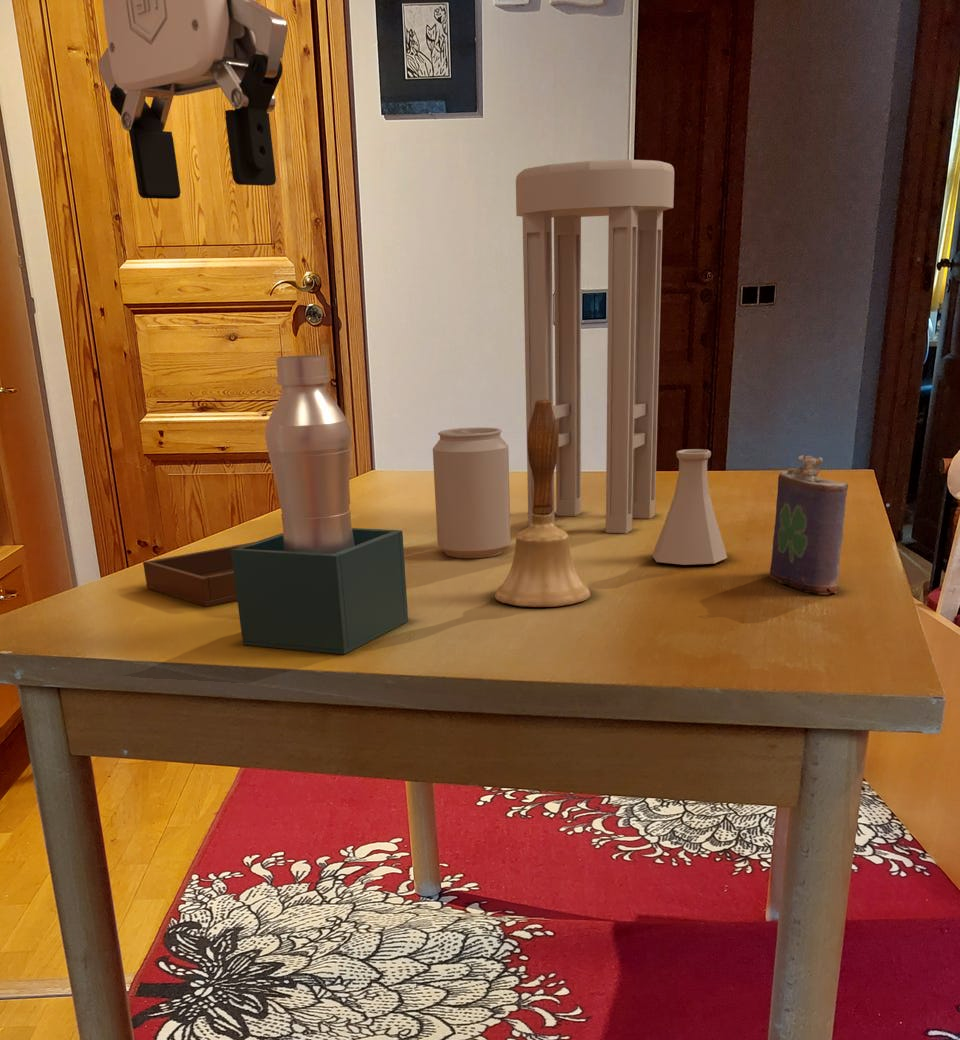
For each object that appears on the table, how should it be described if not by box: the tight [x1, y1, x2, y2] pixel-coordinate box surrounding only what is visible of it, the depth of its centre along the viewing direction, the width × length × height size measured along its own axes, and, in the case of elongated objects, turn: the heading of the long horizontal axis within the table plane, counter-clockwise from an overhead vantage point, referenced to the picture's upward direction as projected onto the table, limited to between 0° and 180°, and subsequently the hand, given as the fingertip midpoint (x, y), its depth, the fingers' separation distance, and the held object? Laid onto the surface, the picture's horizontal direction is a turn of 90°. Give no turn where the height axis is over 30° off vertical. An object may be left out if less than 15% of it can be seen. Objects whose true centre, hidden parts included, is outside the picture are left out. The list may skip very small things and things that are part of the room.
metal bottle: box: [264, 354, 355, 554], centre depth 89 cm, size 6×7×20 cm
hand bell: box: [494, 400, 591, 608], centre depth 98 cm, size 8×8×16 cm
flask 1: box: [651, 448, 728, 566], centre depth 111 cm, size 7×7×10 cm
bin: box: [231, 527, 409, 655], centre depth 92 cm, size 10×9×7 cm
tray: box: [142, 541, 254, 608], centre depth 111 cm, size 16×11×2 cm
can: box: [432, 427, 512, 559], centre depth 117 cm, size 8×8×12 cm
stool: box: [515, 159, 675, 534], centre depth 126 cm, size 16×16×35 cm
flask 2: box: [769, 455, 849, 596], centre depth 100 cm, size 9×3×11 cm, turn 16°
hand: (206, 191), depth 78 cm, fingers open, 9 cm apart
